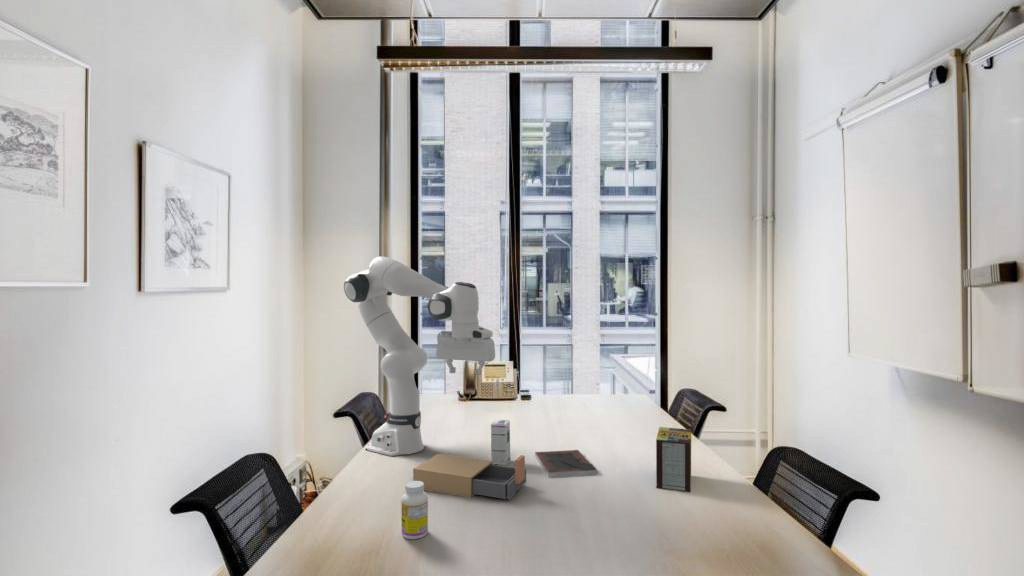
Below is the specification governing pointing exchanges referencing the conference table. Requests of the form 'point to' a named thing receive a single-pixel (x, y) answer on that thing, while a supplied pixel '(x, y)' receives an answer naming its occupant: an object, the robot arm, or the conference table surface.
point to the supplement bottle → (414, 511)
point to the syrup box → (500, 442)
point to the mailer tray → (500, 480)
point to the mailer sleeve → (449, 473)
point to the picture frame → (565, 463)
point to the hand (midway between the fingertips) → (465, 373)
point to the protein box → (673, 459)
